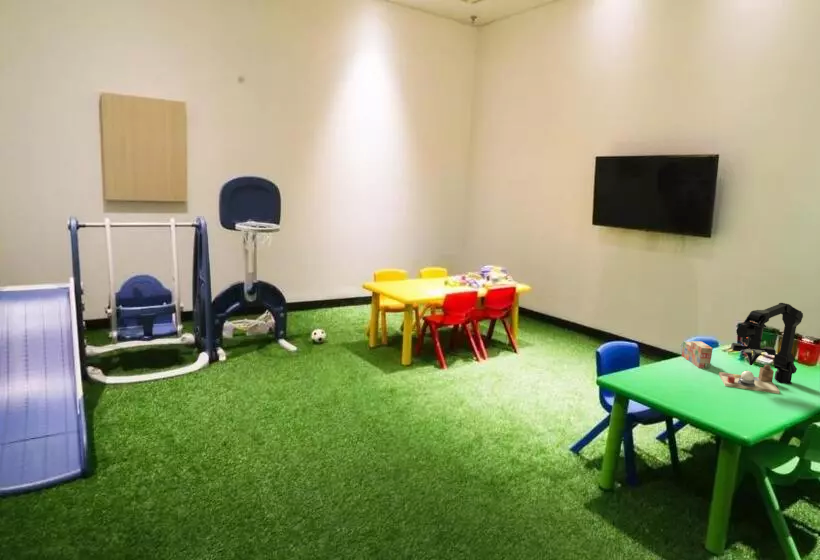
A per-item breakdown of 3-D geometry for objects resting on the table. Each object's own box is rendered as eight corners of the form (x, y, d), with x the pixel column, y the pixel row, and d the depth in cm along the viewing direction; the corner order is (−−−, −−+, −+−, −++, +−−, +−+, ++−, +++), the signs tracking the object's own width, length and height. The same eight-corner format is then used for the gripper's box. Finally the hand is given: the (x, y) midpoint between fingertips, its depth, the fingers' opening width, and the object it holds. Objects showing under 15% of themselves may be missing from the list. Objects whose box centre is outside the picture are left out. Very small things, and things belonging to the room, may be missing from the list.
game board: (769, 381, 287) (770, 373, 286) (779, 394, 270) (780, 385, 269) (718, 374, 295) (719, 366, 294) (725, 386, 278) (726, 378, 277)
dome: (752, 380, 280) (754, 370, 279) (755, 384, 274) (757, 374, 273) (737, 378, 282) (739, 368, 281) (740, 382, 276) (742, 372, 275)
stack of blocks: (681, 355, 326) (683, 336, 323) (691, 356, 326) (694, 336, 323) (698, 368, 305) (701, 347, 302) (709, 368, 305) (713, 347, 302)
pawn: (769, 379, 286) (771, 363, 285) (772, 382, 282) (774, 366, 280) (758, 377, 288) (761, 362, 286) (760, 380, 283) (763, 365, 282)
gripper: (772, 333, 278) (767, 362, 281) (731, 329, 284) (726, 357, 287) (778, 339, 268) (773, 369, 271) (735, 335, 274) (731, 364, 277)
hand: (750, 364), depth 277 cm, fingers closed
